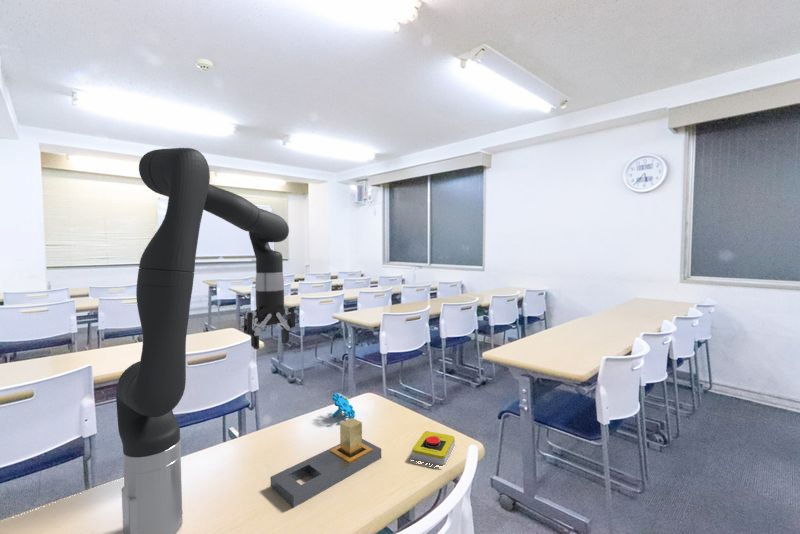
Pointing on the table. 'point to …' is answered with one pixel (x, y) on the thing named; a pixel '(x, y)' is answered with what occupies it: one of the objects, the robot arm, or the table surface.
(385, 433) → the table surface
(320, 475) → the peg board
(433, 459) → the emergency button
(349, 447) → the brass peg
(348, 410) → the gear
